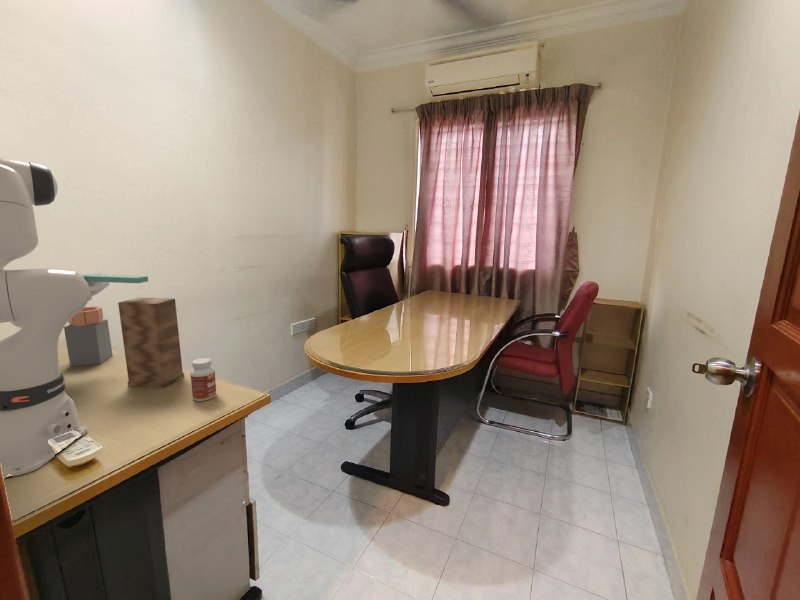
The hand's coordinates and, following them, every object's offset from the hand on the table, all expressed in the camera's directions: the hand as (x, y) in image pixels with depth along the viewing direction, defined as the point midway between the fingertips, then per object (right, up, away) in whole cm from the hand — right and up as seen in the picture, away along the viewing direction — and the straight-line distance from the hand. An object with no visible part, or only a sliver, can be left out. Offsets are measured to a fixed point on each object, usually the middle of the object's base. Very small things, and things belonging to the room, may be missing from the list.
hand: (92, 276), depth 113 cm
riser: (-17, -29, +21) cm, 40 cm away
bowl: (-17, -15, +18) cm, 30 cm away
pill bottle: (+37, -36, -5) cm, 52 cm away
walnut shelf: (+16, -33, +5) cm, 37 cm away
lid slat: (+6, -2, 0) cm, 6 cm away
